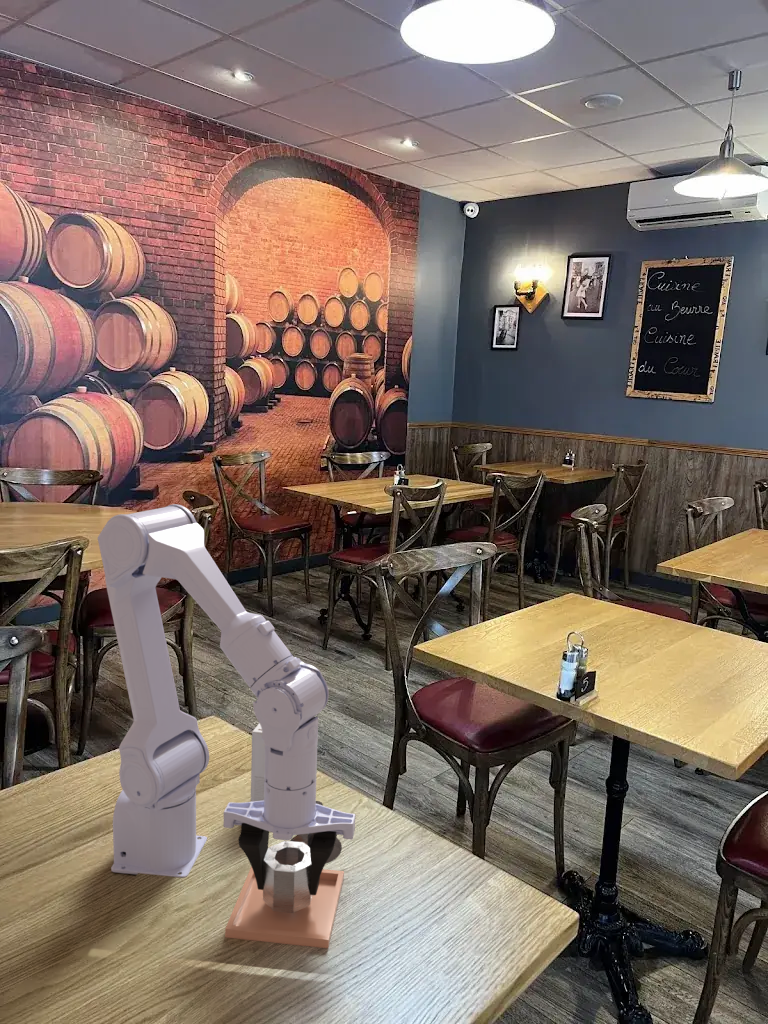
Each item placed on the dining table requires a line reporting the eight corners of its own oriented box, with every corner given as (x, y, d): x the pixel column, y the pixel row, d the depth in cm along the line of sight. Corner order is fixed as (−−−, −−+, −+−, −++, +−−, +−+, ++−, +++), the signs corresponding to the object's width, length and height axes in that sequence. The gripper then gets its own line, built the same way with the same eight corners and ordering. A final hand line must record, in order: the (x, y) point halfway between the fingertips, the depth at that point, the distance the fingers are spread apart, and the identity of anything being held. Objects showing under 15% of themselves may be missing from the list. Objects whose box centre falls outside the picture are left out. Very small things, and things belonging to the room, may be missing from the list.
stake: (281, 865, 93) (282, 818, 92) (293, 831, 100) (294, 787, 99) (337, 871, 92) (338, 823, 91) (345, 836, 99) (346, 792, 98)
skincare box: (279, 816, 103) (280, 735, 101) (249, 811, 104) (250, 731, 102) (293, 792, 109) (294, 716, 107) (265, 788, 110) (266, 712, 108)
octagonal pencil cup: (259, 909, 83) (259, 868, 82) (271, 878, 88) (271, 839, 87) (307, 914, 82) (308, 873, 81) (316, 882, 88) (317, 843, 87)
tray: (225, 941, 80) (225, 928, 80) (252, 873, 91) (252, 862, 91) (328, 952, 79) (328, 939, 79) (343, 882, 90) (344, 871, 90)
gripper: (214, 790, 79) (214, 904, 81) (350, 802, 78) (346, 918, 80) (234, 757, 86) (233, 863, 88) (359, 767, 85) (355, 875, 87)
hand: (288, 886), depth 85 cm, fingers closed on octagonal pencil cup, 5 cm apart
